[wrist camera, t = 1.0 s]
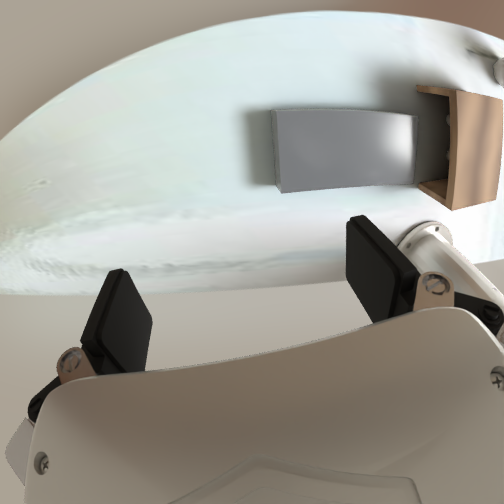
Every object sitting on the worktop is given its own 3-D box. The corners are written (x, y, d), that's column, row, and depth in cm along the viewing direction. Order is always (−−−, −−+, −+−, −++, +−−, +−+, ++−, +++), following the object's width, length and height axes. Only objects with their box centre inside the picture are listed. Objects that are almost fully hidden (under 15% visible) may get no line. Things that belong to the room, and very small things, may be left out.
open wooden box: (466, 91, 23) (502, 99, 18) (464, 181, 31) (495, 199, 25) (416, 85, 23) (456, 90, 18) (418, 188, 31) (451, 210, 25)
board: (403, 113, 26) (418, 116, 23) (399, 175, 30) (413, 183, 27) (269, 109, 25) (276, 111, 22) (275, 183, 29) (281, 193, 26)
